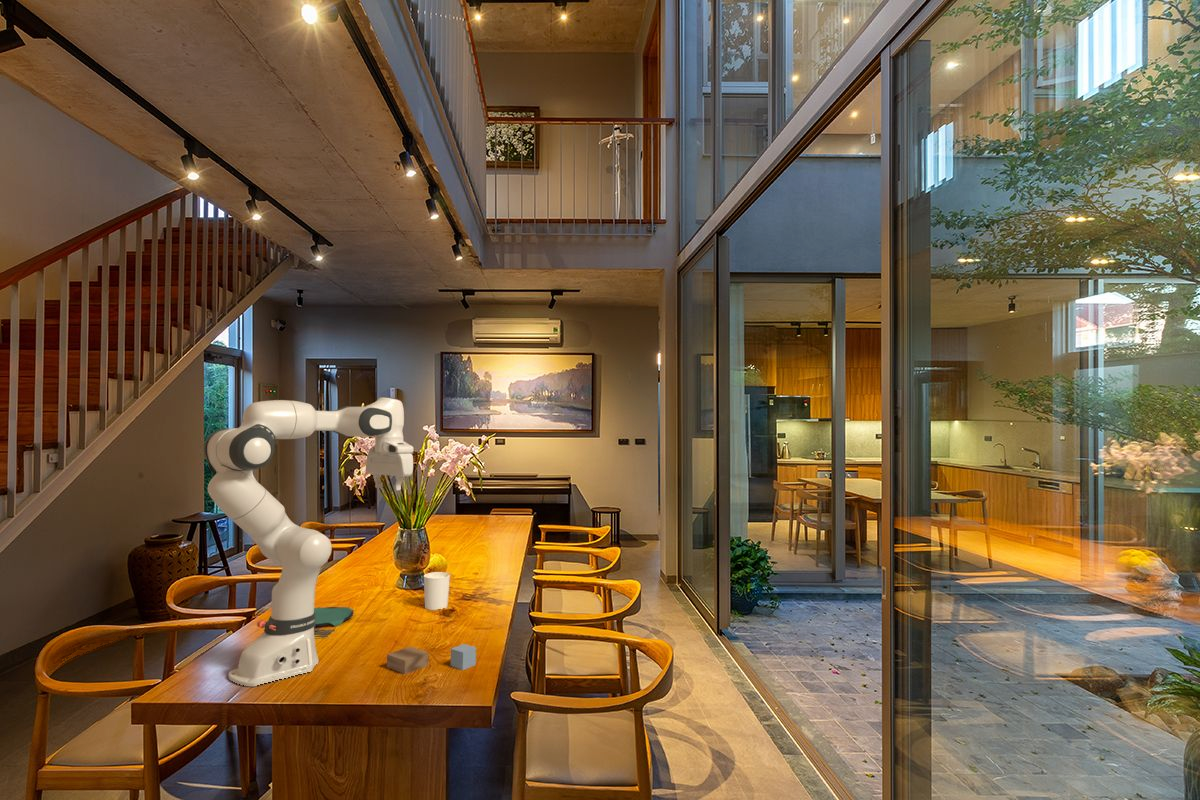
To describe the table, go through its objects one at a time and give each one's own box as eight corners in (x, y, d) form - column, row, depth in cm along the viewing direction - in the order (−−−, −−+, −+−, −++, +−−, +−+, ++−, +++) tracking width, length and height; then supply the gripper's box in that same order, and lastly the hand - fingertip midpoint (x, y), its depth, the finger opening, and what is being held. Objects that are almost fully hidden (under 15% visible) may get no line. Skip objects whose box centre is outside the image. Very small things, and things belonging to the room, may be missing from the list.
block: (462, 670, 175) (463, 652, 176) (450, 666, 178) (450, 648, 178) (475, 665, 180) (476, 647, 180) (463, 661, 182) (463, 643, 183)
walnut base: (404, 675, 172) (405, 660, 172) (386, 668, 176) (387, 654, 177) (427, 666, 178) (428, 652, 179) (409, 660, 183) (410, 646, 183)
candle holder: (418, 606, 236) (419, 574, 237) (442, 601, 243) (442, 570, 243) (430, 612, 229) (431, 579, 229) (454, 607, 235) (455, 575, 236)
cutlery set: (360, 611, 229) (360, 605, 229) (332, 640, 200) (332, 633, 200) (304, 612, 228) (304, 606, 228) (268, 642, 198) (268, 635, 198)
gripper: (361, 446, 208) (360, 487, 208) (400, 447, 197) (399, 491, 196) (377, 445, 213) (376, 486, 213) (417, 447, 202) (415, 490, 201)
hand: (387, 489), depth 204 cm, fingers open, 8 cm apart
